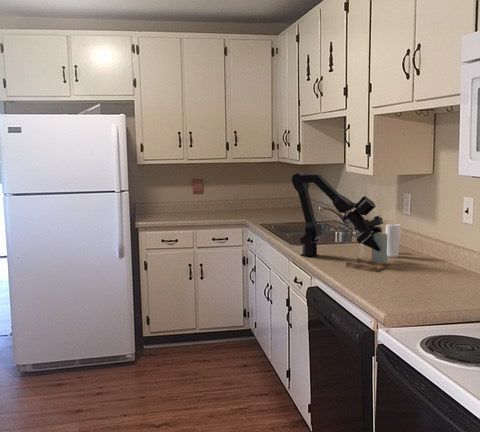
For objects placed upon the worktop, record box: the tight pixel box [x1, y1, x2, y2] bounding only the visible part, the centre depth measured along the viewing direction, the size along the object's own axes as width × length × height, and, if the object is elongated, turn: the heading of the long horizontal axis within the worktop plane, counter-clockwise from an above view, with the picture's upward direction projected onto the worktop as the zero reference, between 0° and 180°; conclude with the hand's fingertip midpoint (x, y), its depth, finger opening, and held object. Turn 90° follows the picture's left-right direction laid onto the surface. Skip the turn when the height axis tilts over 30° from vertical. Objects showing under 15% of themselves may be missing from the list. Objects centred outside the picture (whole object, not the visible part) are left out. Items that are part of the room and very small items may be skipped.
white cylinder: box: [385, 223, 402, 258], centre depth 253 cm, size 7×7×15 cm
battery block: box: [371, 232, 388, 263], centre depth 238 cm, size 5×5×14 cm
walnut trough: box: [345, 258, 388, 273], centre depth 232 cm, size 14×10×2 cm
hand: (382, 249), depth 238 cm, fingers open, 8 cm apart
